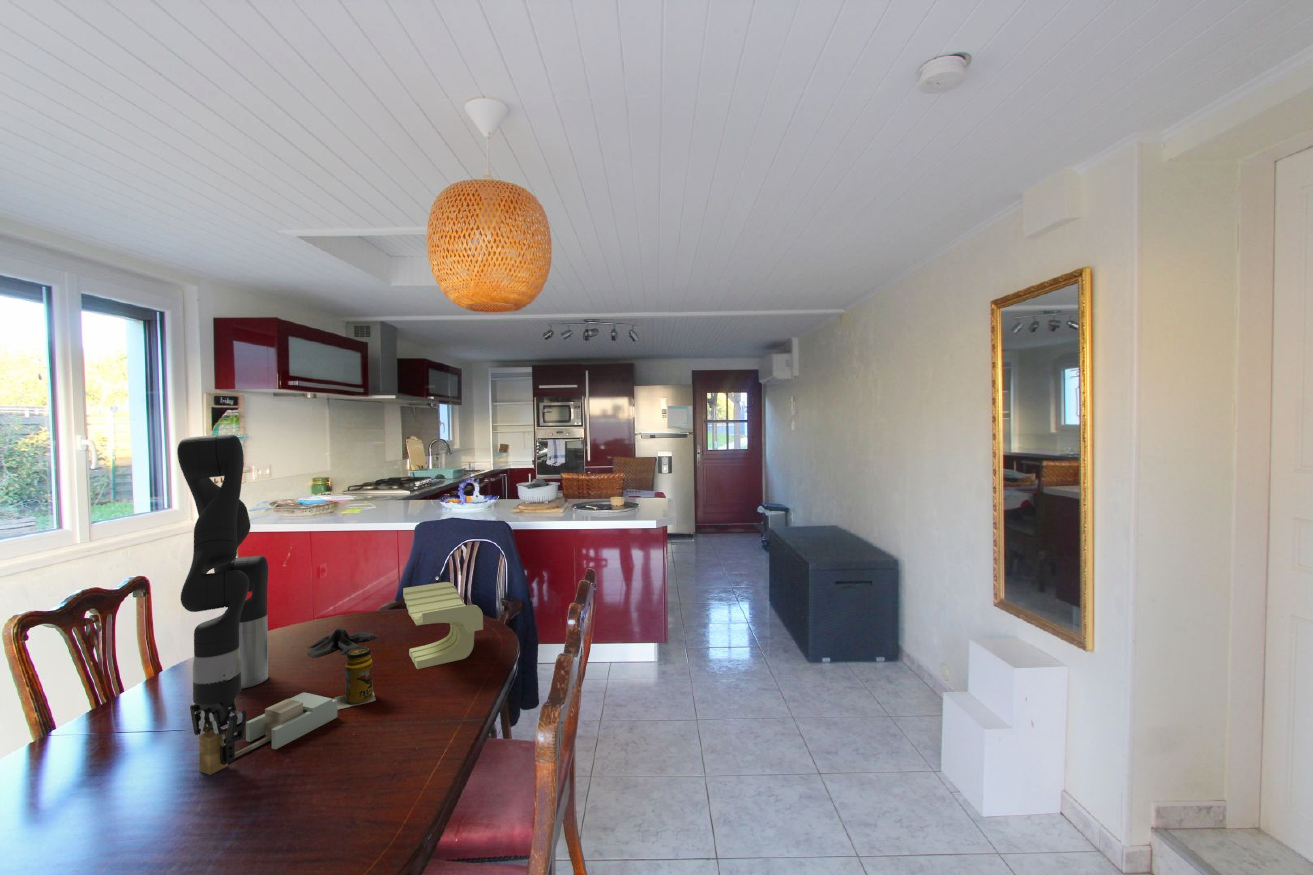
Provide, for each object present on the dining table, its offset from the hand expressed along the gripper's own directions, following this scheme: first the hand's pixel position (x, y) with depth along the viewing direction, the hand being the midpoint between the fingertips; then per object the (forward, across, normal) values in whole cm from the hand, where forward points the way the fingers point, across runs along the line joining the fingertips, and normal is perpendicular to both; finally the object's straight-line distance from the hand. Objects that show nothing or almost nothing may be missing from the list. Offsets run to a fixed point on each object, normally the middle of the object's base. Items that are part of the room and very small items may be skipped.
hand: (218, 759), depth 110 cm
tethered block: (+1, 0, +7) cm, 7 cm away
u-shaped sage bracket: (+1, 0, +15) cm, 15 cm away
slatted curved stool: (+2, +1, +60) cm, 60 cm away
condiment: (+2, +1, +30) cm, 30 cm away
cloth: (+2, -36, +54) cm, 65 cm away
